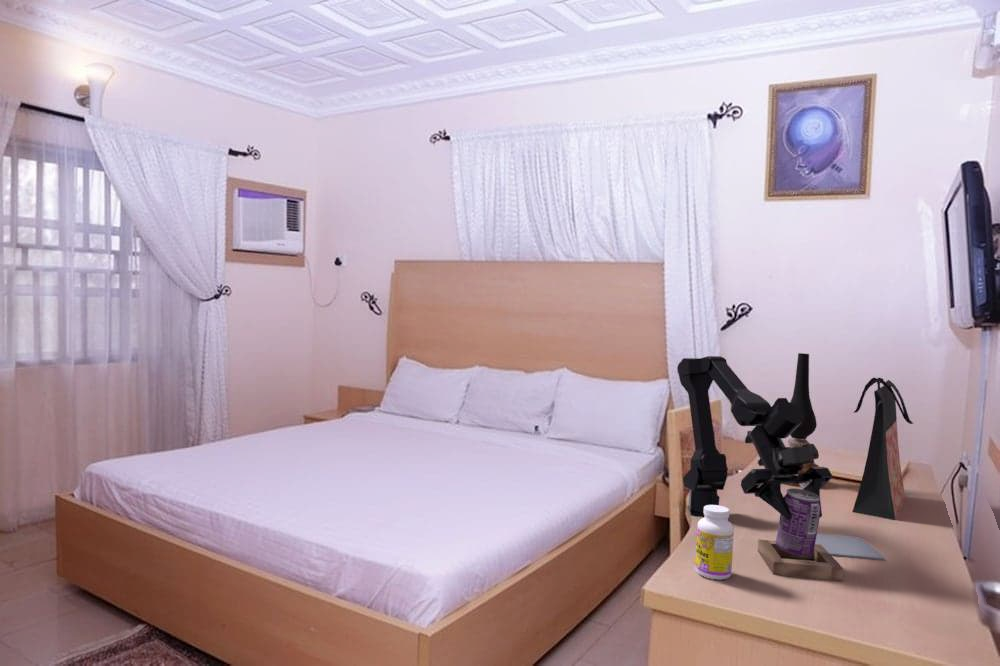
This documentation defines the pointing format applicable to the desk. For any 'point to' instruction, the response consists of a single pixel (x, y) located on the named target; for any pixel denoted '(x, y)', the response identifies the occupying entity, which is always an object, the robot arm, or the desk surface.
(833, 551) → the grey pad
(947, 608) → the desk surface
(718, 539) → the supplement bottle
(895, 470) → the gift bag
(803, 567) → the walnut collar
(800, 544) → the beverage can
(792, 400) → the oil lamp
